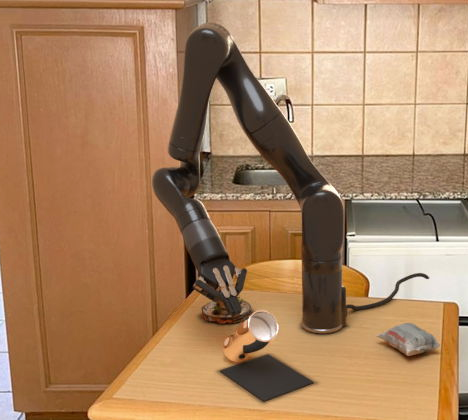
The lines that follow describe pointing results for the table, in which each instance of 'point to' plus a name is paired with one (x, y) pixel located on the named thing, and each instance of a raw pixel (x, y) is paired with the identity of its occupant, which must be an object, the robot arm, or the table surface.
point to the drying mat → (266, 377)
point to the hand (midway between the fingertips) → (237, 314)
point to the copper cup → (251, 335)
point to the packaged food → (409, 339)
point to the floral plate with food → (224, 312)
